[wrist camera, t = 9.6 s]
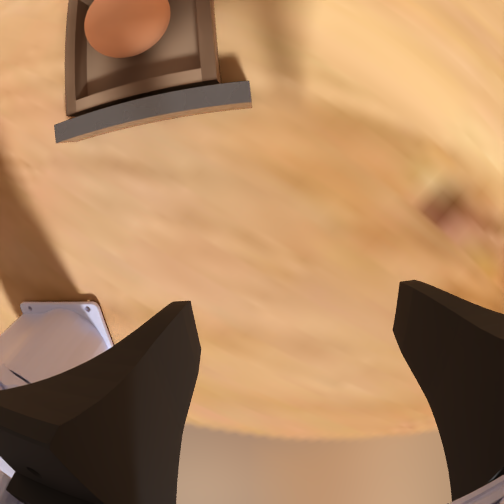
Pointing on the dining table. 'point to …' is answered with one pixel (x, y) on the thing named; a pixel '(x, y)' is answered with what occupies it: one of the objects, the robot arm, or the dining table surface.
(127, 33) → the ball
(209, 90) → the rail
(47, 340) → the robot arm
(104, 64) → the tray
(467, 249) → the dining table surface
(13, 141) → the dining table surface
